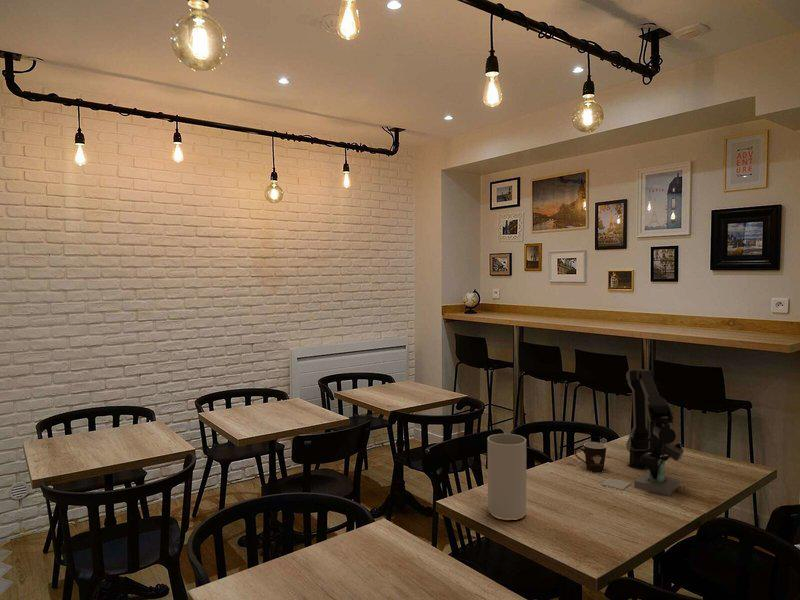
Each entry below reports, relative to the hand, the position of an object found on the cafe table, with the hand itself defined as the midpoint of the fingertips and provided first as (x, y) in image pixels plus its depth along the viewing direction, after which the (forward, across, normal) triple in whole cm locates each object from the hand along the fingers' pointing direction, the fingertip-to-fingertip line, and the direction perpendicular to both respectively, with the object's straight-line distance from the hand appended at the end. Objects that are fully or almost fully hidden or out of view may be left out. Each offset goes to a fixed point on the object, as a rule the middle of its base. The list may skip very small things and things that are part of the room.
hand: (657, 477), depth 202 cm
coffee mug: (+4, +2, +26) cm, 26 cm away
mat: (+4, -8, +12) cm, 15 cm away
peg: (+4, 0, 0) cm, 4 cm away
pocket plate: (+4, 0, 0) cm, 4 cm away
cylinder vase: (+4, -56, +29) cm, 63 cm away
